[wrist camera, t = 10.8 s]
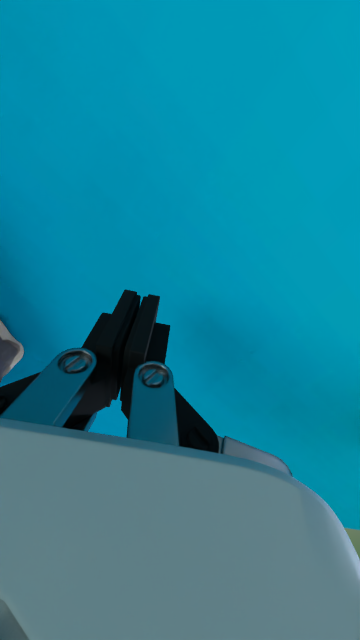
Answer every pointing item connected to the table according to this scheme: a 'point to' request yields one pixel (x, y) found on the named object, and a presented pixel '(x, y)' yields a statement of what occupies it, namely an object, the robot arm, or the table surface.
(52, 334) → the table surface
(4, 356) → the black sponge
